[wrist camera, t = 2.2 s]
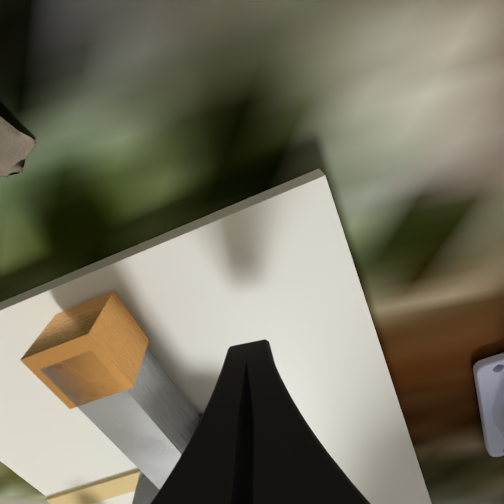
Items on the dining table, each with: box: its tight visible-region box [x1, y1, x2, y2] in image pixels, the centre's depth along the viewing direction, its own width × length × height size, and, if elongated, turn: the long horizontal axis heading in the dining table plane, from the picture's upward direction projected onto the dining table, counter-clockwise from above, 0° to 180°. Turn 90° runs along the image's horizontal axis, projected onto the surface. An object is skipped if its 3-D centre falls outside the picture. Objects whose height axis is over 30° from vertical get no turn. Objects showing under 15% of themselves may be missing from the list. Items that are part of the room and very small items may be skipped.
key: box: [20, 291, 203, 504], centre depth 15 cm, size 15×7×3 cm, turn 23°
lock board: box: [0, 169, 432, 504], centre depth 17 cm, size 20×24×4 cm
